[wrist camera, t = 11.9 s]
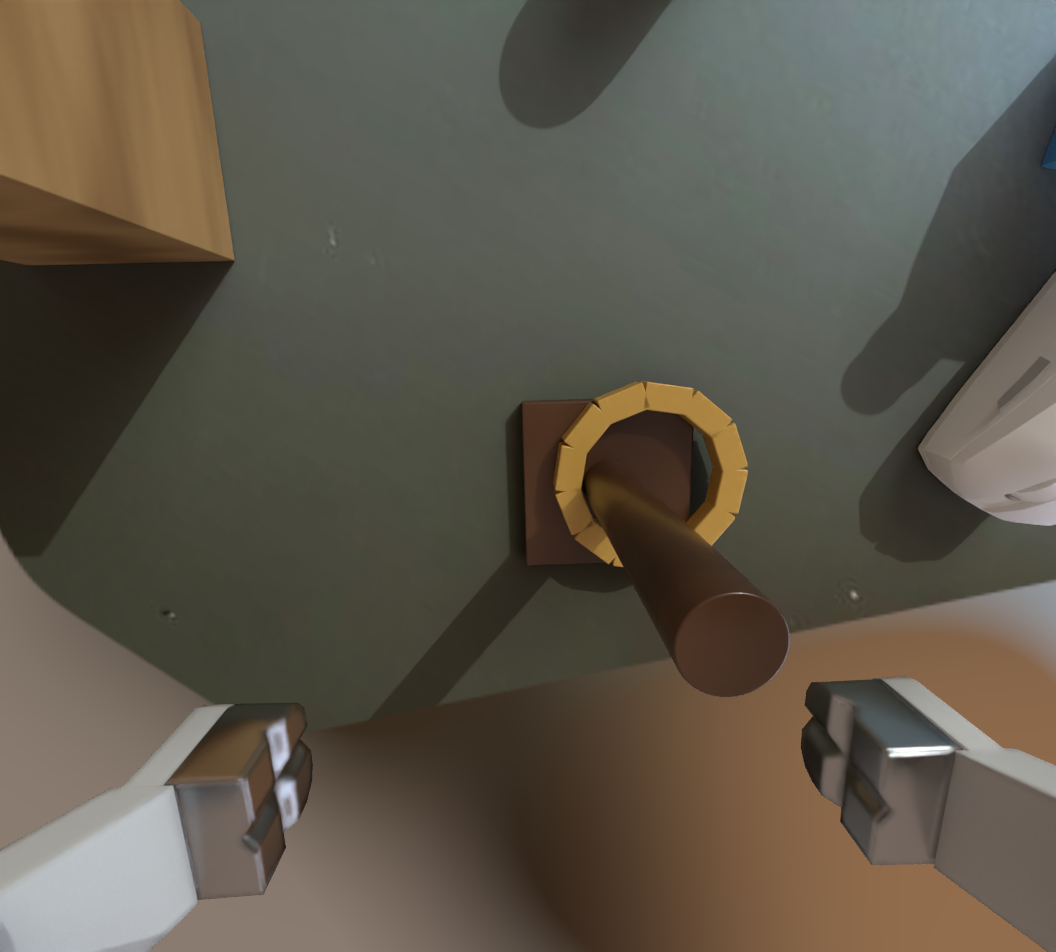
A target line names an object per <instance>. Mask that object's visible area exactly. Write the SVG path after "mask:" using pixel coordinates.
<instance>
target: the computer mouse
mask: <svg viewBox="0 0 1056 952" xmlns="http://www.w3.org/2000/svg"><path fill="white" fill-rule="evenodd" d="M918 450H919V452H920V454H921V456H922V458H923V460H924V462H925V464H926V466H927V468H928V470H929V471H930V472H931V473H932V474H934V475H935V476H936V477H937V478H938V479H939V480H940V481H941V482H942V483H943V484H944V485H946V486H947V487H948V488H949V489H950V490H952V491H953V492H954V493H955V494H957V495H958V496H960V497H961V498H963V499H964V500H966V501H967V502H969V503H971V504H973V505H975V506H976V507H978V508H979V509H981V510H983V511H985V512H987V513H989V514H991V515H993V516H995V517H997V518H999V519H1001V520H1006V521H1011V522H1018V523H1027V524H1035V525H1048V526H1051V525H1056V271H1055V272H1054V274H1053V275H1052V276H1051V277H1050V279H1049V280H1048V281H1047V282H1046V284H1045V285H1044V286H1043V287H1042V289H1041V290H1040V291H1039V292H1038V294H1037V295H1036V296H1035V297H1034V299H1033V300H1032V301H1031V302H1030V303H1029V305H1028V306H1027V307H1026V308H1025V310H1024V311H1023V312H1022V313H1021V315H1020V316H1019V317H1018V318H1017V320H1016V321H1015V322H1014V323H1013V325H1012V326H1011V327H1010V328H1009V329H1008V331H1007V332H1006V333H1005V334H1004V336H1003V337H1002V338H1001V339H1000V341H999V342H998V343H997V344H996V346H995V347H994V348H993V349H992V350H991V352H990V353H989V354H988V355H987V357H986V358H985V359H984V360H983V362H982V363H981V364H980V365H979V367H978V368H977V369H976V370H975V372H974V373H973V374H972V375H971V377H970V378H969V379H968V380H967V382H966V383H965V384H964V385H963V387H962V388H961V389H960V390H959V392H958V393H957V394H956V395H955V397H954V398H953V399H952V401H951V402H950V403H949V405H948V406H947V408H946V409H945V410H944V412H943V413H942V414H941V416H940V417H939V418H938V420H937V421H936V422H935V424H934V425H933V426H932V427H931V429H930V430H929V431H928V433H927V434H926V435H925V437H924V439H923V440H922V442H921V443H920V445H919V447H918Z"/></svg>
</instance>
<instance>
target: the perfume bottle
mask: <svg viewBox="0 0 1056 952" xmlns="http://www.w3.org/2000/svg"><path fill="white" fill-rule="evenodd" d="M1041 167H1044V168H1048V169H1052V170H1056V127H1055V130H1054V133H1053V136H1052V138H1051V141H1050V144H1049V146H1048V149H1047V152H1046V155H1045V157H1044V160H1043V163H1042V165H1041Z"/></svg>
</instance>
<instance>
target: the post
mask: <svg viewBox="0 0 1056 952" xmlns="http://www.w3.org/2000/svg"><path fill="white" fill-rule="evenodd" d="M588 403H592V404H594V405H595V403H594V400H593V399H574V400H539V401H522V437H523V472H524V506H525V541H526V564H527V565H555V564H583V563H606V562H605V561H603V560H602V559H601V558H599V557H598V556H596V555H595V554H594V553H592V552H591V551H590V550H588V549H587V548H586V547H584V546H583V545H582V544H580V543H579V542H578V541H576V540H575V539H574V536H573V535H571V533H570V531H569V528H568V526H567V523H566V521H565V519H564V516H563V514H562V511H561V509H560V506H559V504H558V501H557V499H556V497H555V493H554V485H553V480H554V473H555V467H556V460H557V454H558V447H559V443H560V442H564V441H563V439H562V436H563V435H564V433H565V432H566V431H567V430H568V428H569V427H570V426H571V425H572V423H573V422H574V421H575V420H576V418H577V417H578V416H579V414H580V413H581V412H582V411H583V409H584V408H585V407H586V406H587V404H588ZM692 447H693V426H691V425H690V424H689V423H688V422H687V421H685V420H684V419H683V418H682V417H680V416H679V415H678V414H673V413H665V412H658V411H651V410H645V411H642V412H640V413H638V414H635V415H633V416H630V417H628V418H625V419H623V420H620V421H618V422H615V423H613V424H611V425H610V426H609V427H608V428H607V430H606V431H605V432H604V433H603V435H602V436H601V437H600V438H599V439H598V441H597V442H596V443H595V444H594V446H593V447H592V448H591V449H590V451H589V452H588V453H587V457H586V463H585V469H584V475H583V481H582V487H581V490H582V493H583V495H584V498H585V500H586V503H587V505H588V508H589V510H590V513H591V515H592V516H593V517H594V518H595V519H597V520H598V521H599V522H600V524H601V526H602V528H603V530H604V532H605V533H606V535H607V537H608V539H609V541H610V543H611V545H612V547H613V548H614V550H615V552H616V554H617V556H618V558H619V560H620V562H621V563H622V565H623V567H624V569H625V571H626V573H627V575H628V577H629V578H630V580H631V582H632V584H633V586H634V588H635V590H636V592H637V593H638V595H639V597H640V599H641V601H642V603H643V605H644V607H645V608H646V610H647V612H648V614H649V616H650V618H651V620H652V622H653V623H654V625H655V627H656V629H657V631H658V633H659V635H660V637H661V638H662V640H663V642H664V644H665V646H666V648H667V650H668V652H669V653H670V655H671V657H672V659H673V661H674V663H675V665H676V666H677V668H678V670H679V672H680V674H681V675H682V677H683V678H684V679H685V680H686V681H687V682H688V683H689V684H690V685H692V686H693V687H694V688H696V689H698V690H700V691H702V692H704V693H706V694H710V695H713V696H720V697H732V696H739V695H744V694H746V693H750V692H752V691H754V690H756V689H758V688H760V687H761V686H763V685H764V684H766V683H767V682H768V681H770V680H771V679H772V678H773V677H774V676H775V675H776V673H777V672H778V671H779V670H780V668H781V666H782V665H783V663H784V661H785V659H786V656H787V653H788V649H789V641H790V640H789V639H790V636H789V629H788V625H787V622H786V620H785V618H784V616H783V614H782V613H781V611H780V610H779V609H778V608H777V606H776V605H775V604H774V603H772V602H771V601H770V600H769V599H768V598H767V597H766V596H765V595H764V594H763V593H762V592H761V591H760V590H758V589H757V588H756V587H755V586H754V585H753V584H752V583H751V582H750V581H749V580H748V579H747V578H746V577H744V576H743V575H742V574H741V573H740V572H739V571H738V570H737V569H736V568H735V567H734V566H733V565H732V564H730V563H729V562H728V561H727V560H726V559H725V558H724V557H723V556H722V555H721V554H720V553H719V552H718V551H716V550H715V549H714V548H713V547H712V546H711V545H710V544H709V543H708V542H707V541H706V540H705V539H704V538H702V537H701V536H700V535H699V534H698V533H697V532H696V531H695V530H694V529H693V528H692V527H691V526H690V525H688V524H687V523H686V522H687V521H688V520H689V512H690V490H691V469H692ZM610 563H611V562H610Z"/></svg>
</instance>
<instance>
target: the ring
mask: <svg viewBox="0 0 1056 952" xmlns="http://www.w3.org/2000/svg"><path fill="white" fill-rule="evenodd" d="M593 400H594V403H595V405H594V404H592V403H588V404H587V406H586V407H585V408H584V409H583V411H582V412H581V413H580V414H579V416H578V417H577V418H576V420H575V421H574V422H573V423H572V425H571V426H570V427H569V428H568V430H567V431H566V432H565V433H564V435H563V436H562V439H563V441H564V442H560V443H559V447H558V454H557V460H556V467H555V473H554V480H553V485H554V493H555V497H556V499H557V501H558V504H559V506H560V509H561V511H562V514H563V516H564V519H565V521H566V523H567V526H568V528H569V531H570V533H571V535H573V536H574V539H575V540H576V541H578V542H579V543H580V544H582V545H583V546H584V547H586V548H587V549H588V550H590V551H591V552H592V553H594V554H595V555H596V556H598V557H599V558H601V559H602V560H603V561H605V562H606V563H607V564H610V562H611V563H612V565H613V566H618V567H623V565H622V563H621V562H620V560H619V558H618V556H617V554H616V552H615V550H614V548H613V547H612V545H611V543H610V541H609V539H608V537H607V535H606V533H605V532H604V530H603V528H602V526H601V524H600V522H599V521H598V520H597V519H595V518H594V517H593V516H592V515H591V513H590V510H589V508H588V505H587V503H586V500H585V498H584V495H583V493H582V490H581V487H582V481H583V475H584V469H585V463H586V457H587V453H588V452H589V451H590V449H591V448H592V447H593V446H594V444H595V443H596V442H597V441H598V439H599V438H600V437H601V436H602V435H603V433H604V432H605V431H606V430H607V428H608V427H609V426H610V425H611V424H613V423H615V422H618V421H620V420H623V419H625V418H628V417H630V416H633V415H635V414H638V413H640V412H642V411H645V410H651V411H658V412H665V413H673V414H678V415H679V416H680V417H682V418H683V419H684V420H685V421H687V422H688V423H689V424H690V425H691V426H693V427H694V428H695V429H696V430H697V431H699V432H700V433H701V434H702V435H703V438H704V441H705V444H706V447H707V450H708V453H709V456H710V459H711V462H712V465H713V469H712V474H711V478H710V483H709V487H708V492H707V496H706V500H705V502H704V503H703V504H702V505H701V506H700V507H699V508H698V510H697V511H696V512H695V513H694V514H693V515H692V516H691V518H690V519H689V520H688V521H687V522H686V523H687V524H688V525H690V526H691V527H692V528H693V529H694V530H695V531H696V532H697V533H698V534H699V535H700V536H701V537H702V538H704V539H705V540H706V541H707V542H708V543H709V544H710V545H712V544H713V543H714V542H715V541H716V540H717V539H718V538H719V537H720V535H721V534H722V533H723V532H724V531H725V530H726V529H727V528H728V526H729V525H730V524H731V523H732V522H733V521H734V520H735V517H734V516H733V515H732V514H730V513H733V514H738V512H739V508H740V504H741V500H742V495H743V491H744V487H745V483H746V478H747V474H748V470H746V469H744V467H747V466H748V463H747V460H746V457H745V454H744V450H743V447H742V444H741V441H740V438H739V435H738V431H737V428H736V425H735V424H734V423H730V422H731V420H732V419H731V418H730V417H729V416H728V415H727V414H725V413H724V412H723V411H722V410H721V409H719V408H718V407H717V406H716V405H715V404H714V403H712V402H711V401H710V400H709V399H708V398H706V397H705V396H704V395H703V394H702V393H700V392H699V391H695V390H694V389H693V388H688V387H681V386H674V385H667V384H660V383H653V382H646V381H641V382H633V383H631V384H628V385H626V386H624V387H621V388H619V389H616V390H614V391H611V392H609V393H606V394H604V395H602V396H599V397H597V398H594V399H593Z"/></svg>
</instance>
